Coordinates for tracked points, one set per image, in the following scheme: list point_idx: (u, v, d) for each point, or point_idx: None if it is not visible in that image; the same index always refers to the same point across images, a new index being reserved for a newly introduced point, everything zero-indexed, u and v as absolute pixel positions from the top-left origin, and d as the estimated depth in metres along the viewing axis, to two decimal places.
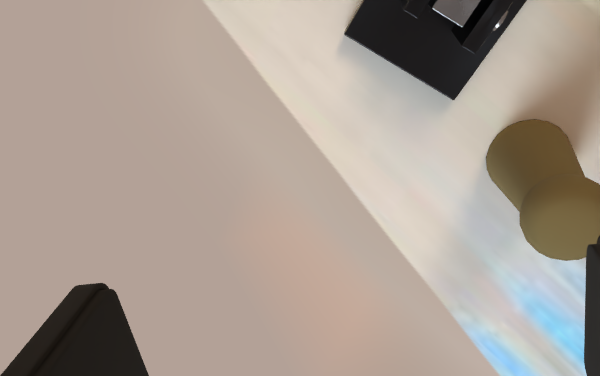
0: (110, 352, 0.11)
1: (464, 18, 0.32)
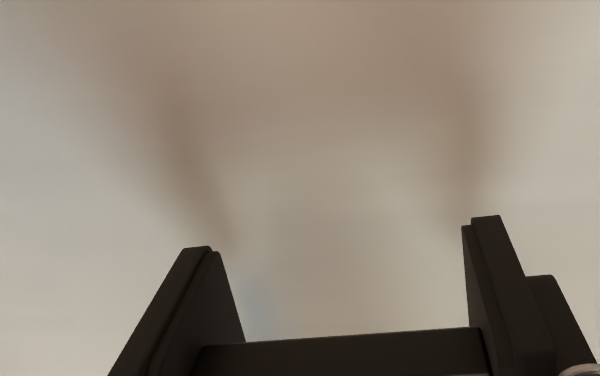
0: (219, 310, 0.11)
1: None
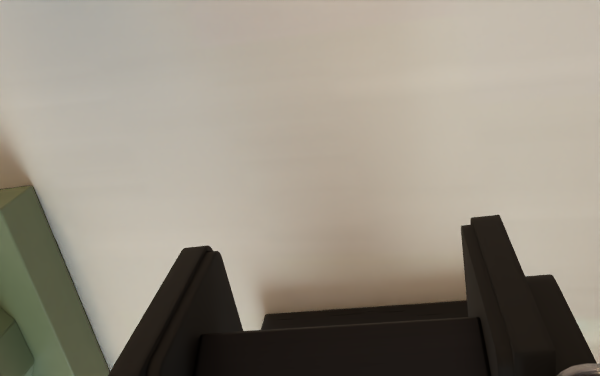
0: (219, 310, 0.11)
1: None
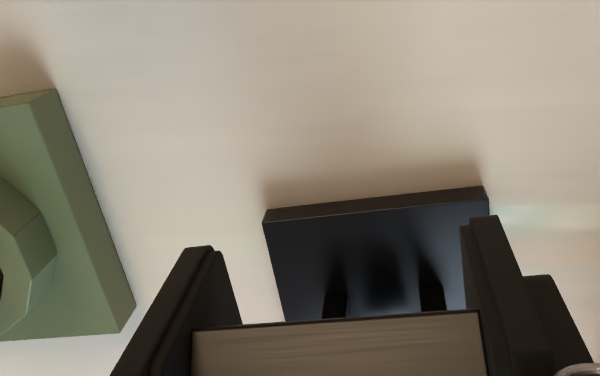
0: (221, 310, 0.11)
1: None
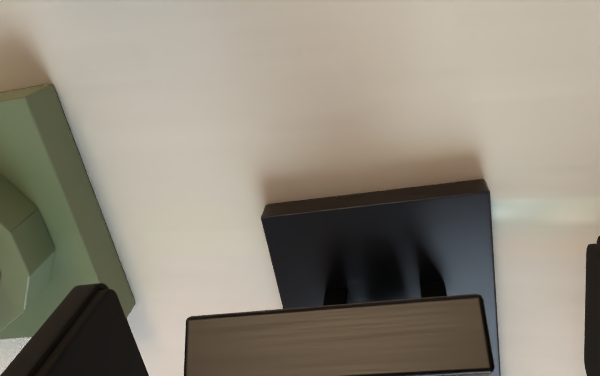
0: (110, 352, 0.11)
1: None
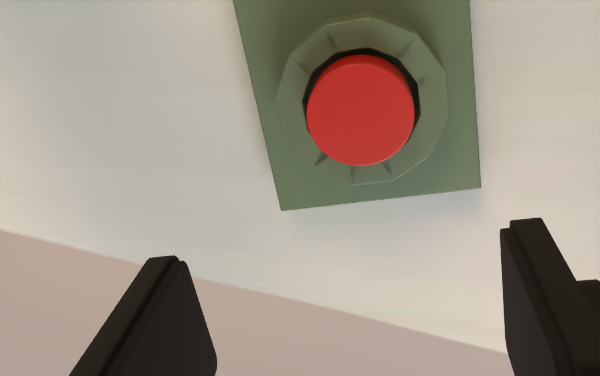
0: (184, 321, 0.11)
1: None
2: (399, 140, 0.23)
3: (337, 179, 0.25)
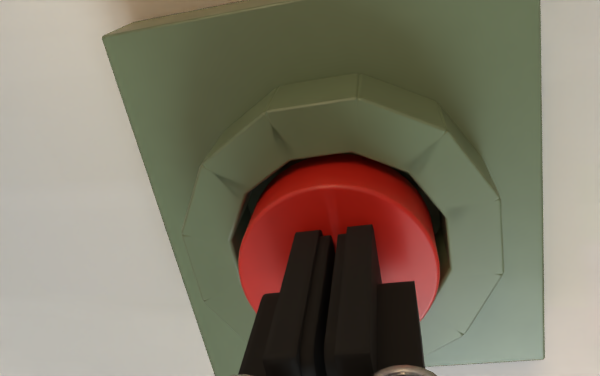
0: None
1: None
2: None
3: None
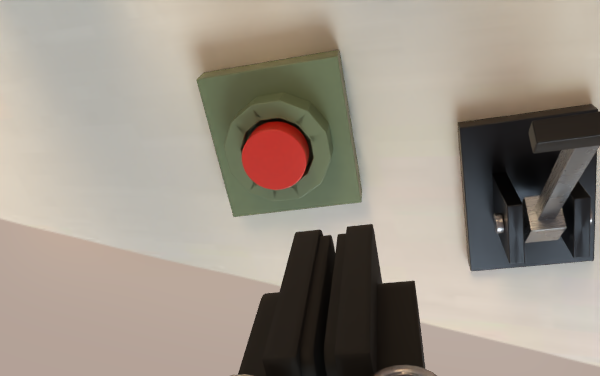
0: None
1: (556, 238, 0.38)
2: (298, 174, 0.37)
3: (265, 197, 0.40)
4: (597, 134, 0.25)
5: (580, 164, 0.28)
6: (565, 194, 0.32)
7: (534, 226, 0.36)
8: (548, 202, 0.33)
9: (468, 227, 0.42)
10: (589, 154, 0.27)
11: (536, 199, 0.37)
